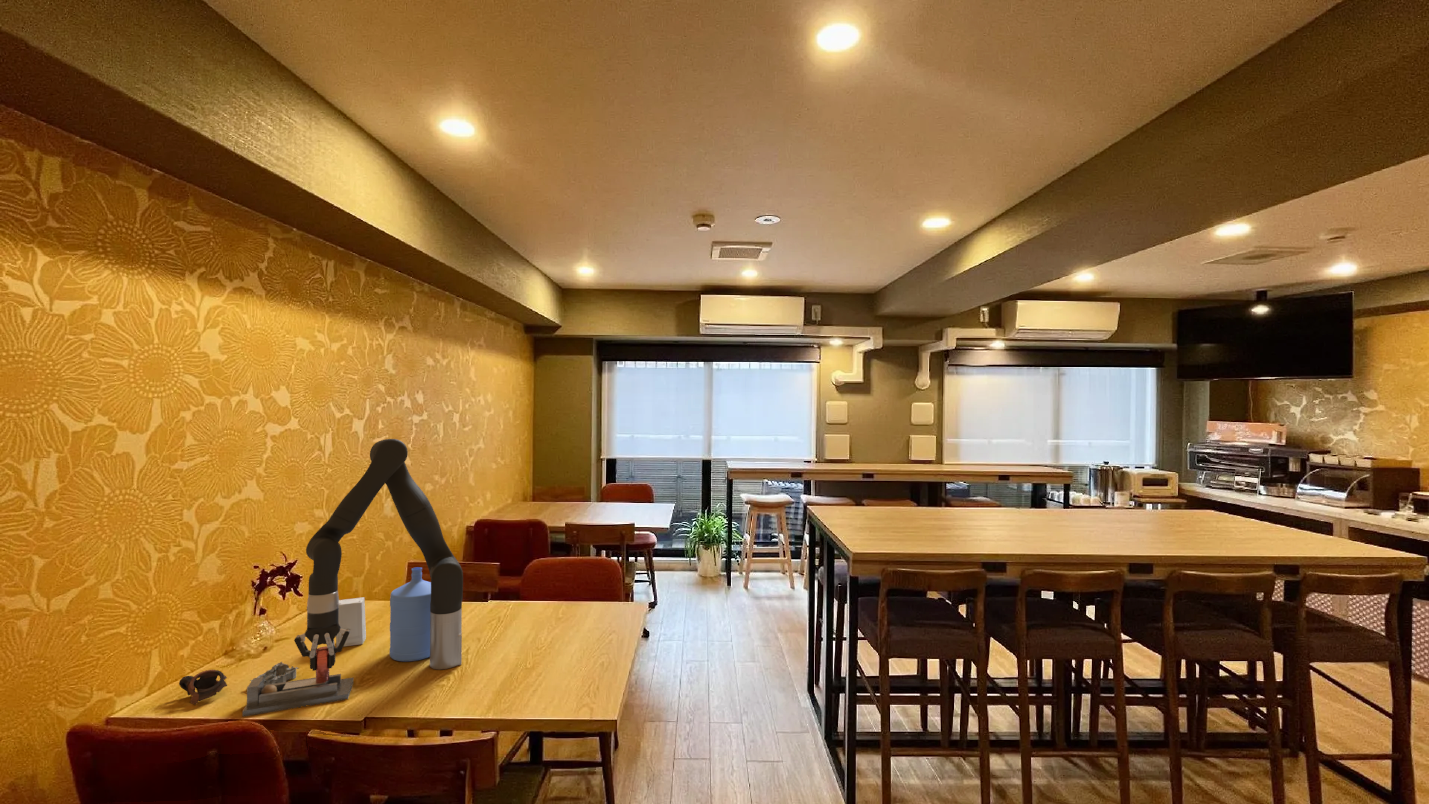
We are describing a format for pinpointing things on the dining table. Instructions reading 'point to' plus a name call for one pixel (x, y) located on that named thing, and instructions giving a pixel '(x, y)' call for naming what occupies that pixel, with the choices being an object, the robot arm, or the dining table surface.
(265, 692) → the walnut
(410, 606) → the water jug
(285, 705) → the grey ball track
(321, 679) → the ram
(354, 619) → the skincare box
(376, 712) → the dining table surface
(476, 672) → the dining table surface
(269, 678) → the grey jagged model
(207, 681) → the dark brown hollow piece
